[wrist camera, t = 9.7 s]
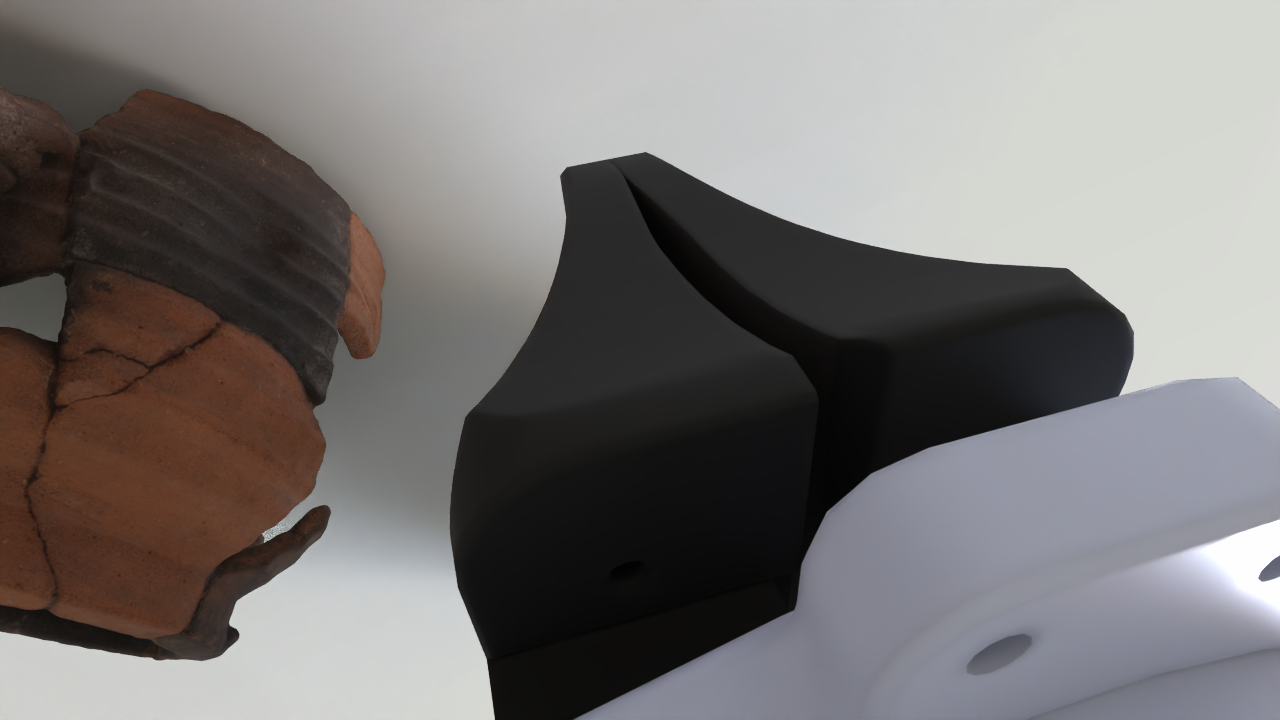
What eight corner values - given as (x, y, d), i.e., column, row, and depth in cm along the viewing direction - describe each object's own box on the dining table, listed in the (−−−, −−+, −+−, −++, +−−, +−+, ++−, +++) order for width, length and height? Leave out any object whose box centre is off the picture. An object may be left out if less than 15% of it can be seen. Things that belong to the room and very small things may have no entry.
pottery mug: (473, 342, 19) (365, 699, 15) (145, 322, 21) (-32, 637, 17) (152, -213, 9) (-459, 420, 5) (-434, -160, 11) (-1243, 336, 7)
